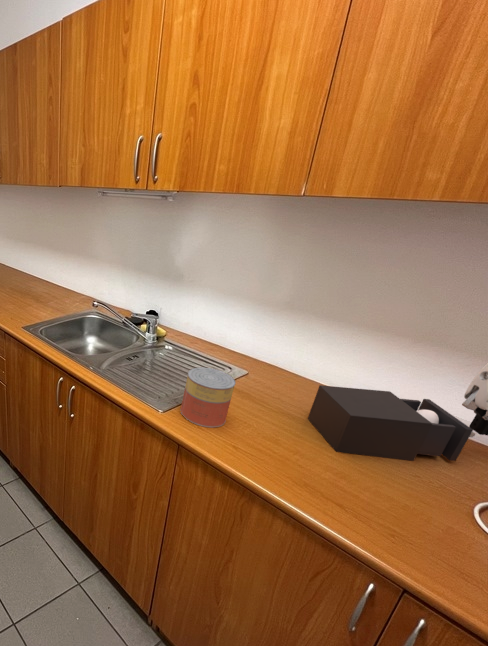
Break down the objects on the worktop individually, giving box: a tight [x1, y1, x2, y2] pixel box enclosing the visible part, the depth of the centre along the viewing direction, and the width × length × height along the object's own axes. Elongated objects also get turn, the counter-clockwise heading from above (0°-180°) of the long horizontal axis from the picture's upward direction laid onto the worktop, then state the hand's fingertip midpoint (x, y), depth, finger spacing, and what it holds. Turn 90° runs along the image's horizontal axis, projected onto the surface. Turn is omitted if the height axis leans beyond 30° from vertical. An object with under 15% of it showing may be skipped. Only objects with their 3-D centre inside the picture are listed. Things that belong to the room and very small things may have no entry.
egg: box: [417, 410, 439, 424], centre depth 95 cm, size 5×5×7 cm
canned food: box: [179, 366, 236, 428], centre depth 107 cm, size 11×11×12 cm
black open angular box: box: [400, 398, 476, 462], centre depth 95 cm, size 18×12×9 cm
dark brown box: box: [307, 384, 432, 462], centre depth 97 cm, size 16×14×11 cm
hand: (478, 431), depth 92 cm, fingers closed
